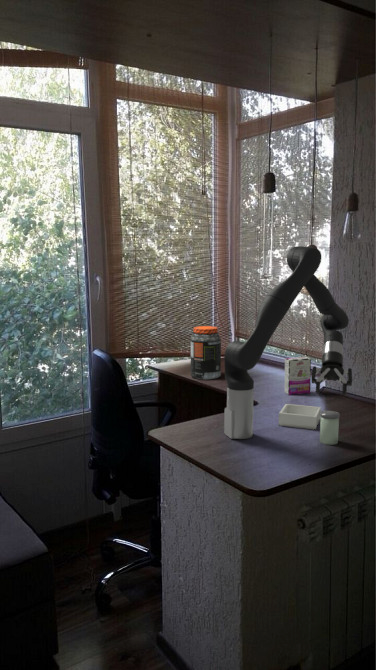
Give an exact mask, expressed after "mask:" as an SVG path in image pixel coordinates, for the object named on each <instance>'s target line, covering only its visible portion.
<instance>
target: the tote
mask: <svg viewBox="0 0 376 670" xmlns="http://www.w3.org/2000/svg"><path fill="white" fill-rule="evenodd" d="M321 410H322V407H321V406H313V405H312V406H310V405H302V404H291V403H285V404H284V405H283V407H282V408H281V409H280V411H279V412H278V426H279V427H288V428H297V429H304V430H305V429H306V430H314V429H315V431H316V430H317V428H318V426H317V425H319V424H320V422H321V416H320V412H321Z"/></svg>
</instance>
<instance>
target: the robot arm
mask: <svg viewBox="0 0 376 670" xmlns="http://www.w3.org/2000/svg"><path fill="white" fill-rule="evenodd" d="M286 263H287V266H288V267H289V269H290V271H291V274H290V275H289V276H288V277H287V278H285V279H284V280H283V281H282V282H280V283H279V284H277V285H275V286H274V287H273V288H272V289H271V290H270V291H269V292H268V293H267V294H266V295H265V297H264V298H263V300H262V302H261V303H260V304H259V307H258V310H257V314H256V321H255V322H256V323H255V327H254V329H253V331H252V333H250V336H249V337H248V339H246V341H245V342H244V341H239V340H233V341H230V343H228V344H227V346H226V348H225V351H224V361H223V362H224V378H225V382H226V407H224V419H223V420H224V422H223V423H224V424H223V425H224V428H223V430H224V432H223V434H224V435H226V436H227V437H228V438H229V439H231V440H232V439H234V440H236V439H237V440H245V439H246V440H247V439H250V438H252V437H253V436H254V435H253V432H254V393H255V392H254V391H255V390H254V389H255V387H254V385H255V383H254V379H253V378H252V376H250V374H249V373H248V372H249V370H252V369H253V368H254V367H255V366H256V365H257V364H258V362H259V361H260V359H261V358H262V355H263V352H264V351H265V350H266V348H267V345H268V343H269V341H270V340H271V338H272V336H273V334H274V333H275V332H276V330H277V328H278V327H279V324H281V322H282V321H283V319H284V318H285V316H286V315H287V313H288V311H290V309H291V307H292V304H293V303H294V301H296V298H298V296H299V295H300V293H301V291H302V290H303V288H304V289H305V290H306V292H307V293H308V294H309V296H310V297H311V300H312V301H313V303H314V305H315V307H316V309H317V311H318V313H320V315H322V316H321V317H320V326H321V329H322V332H323V348H322V354H321V358H322V359H321V367H320V368H319V367H317V366H315V365H313V367H312V369H311V384H314V385H315V392H316V393H317V395H320V393H321V392H320V391H321V384H322V383H324V382H325V380H327V381H334V382H335V381H337V382H338V383H340V384H341V385H342V388H341V389H342V394H341V395H342V396H343V397H344V396H345V395H347V387H349V386H350V387H352V385H353V371H352V368H348V369H344V346H343V345H344V335H343V333H342V332H341V331H339V330H344V329H346V328H347V327H348V325H349V321H350V319H349V316H348V315H347V313H346V312H345V311H344V309H342V307H340V306H339V304H338V303H336V301H335V299H334V297H333V295H332V293H331V291H330V290H329V288H328V287H327V286H326V285H325V284H324V283H323V282H322V281H321V280H320V279H319V278H318V277H317V276H316V275H315V273H316V272H317V271H318V270H319V267H320V265H321V263H322V253H321V251H320V250H319V249H318V248H316V247H312V246H301V245H300V246H297V245H296V246H293V247H291V248H290V249H289V250H288V252H287V255H286ZM319 373H320V375H319V377H318V378H317V377H316V375H318V374H319ZM344 375H345V376H346V377H347V380H346V379H345V377H344Z"/></svg>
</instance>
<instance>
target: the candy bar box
mask: <svg viewBox="0 0 376 670" xmlns="http://www.w3.org/2000/svg"><path fill="white" fill-rule="evenodd" d="M311 377H312V358H311V357H308V356H302V357H300V356H299V357H286V358H284V394H286V395H288V396H294V395H295V396H296V395H306V394H307V395H308V394H311V386H312V385H311V384H312V383H311Z"/></svg>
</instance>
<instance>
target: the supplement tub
mask: <svg viewBox="0 0 376 670" xmlns="http://www.w3.org/2000/svg"><path fill="white" fill-rule="evenodd" d="M218 330H219V329H218V327H217V326H211V325H201V326H200V325H199V326H194V327H193V333H192V335H190V336H191V337H190V340H189V341H190V345H189V347H190V375H191V377H192V378H194V379H199V380H214V379H218V378H219V377H221V376H222V375H221V374H222V339H221V336H220V335H219V331H218Z"/></svg>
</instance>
